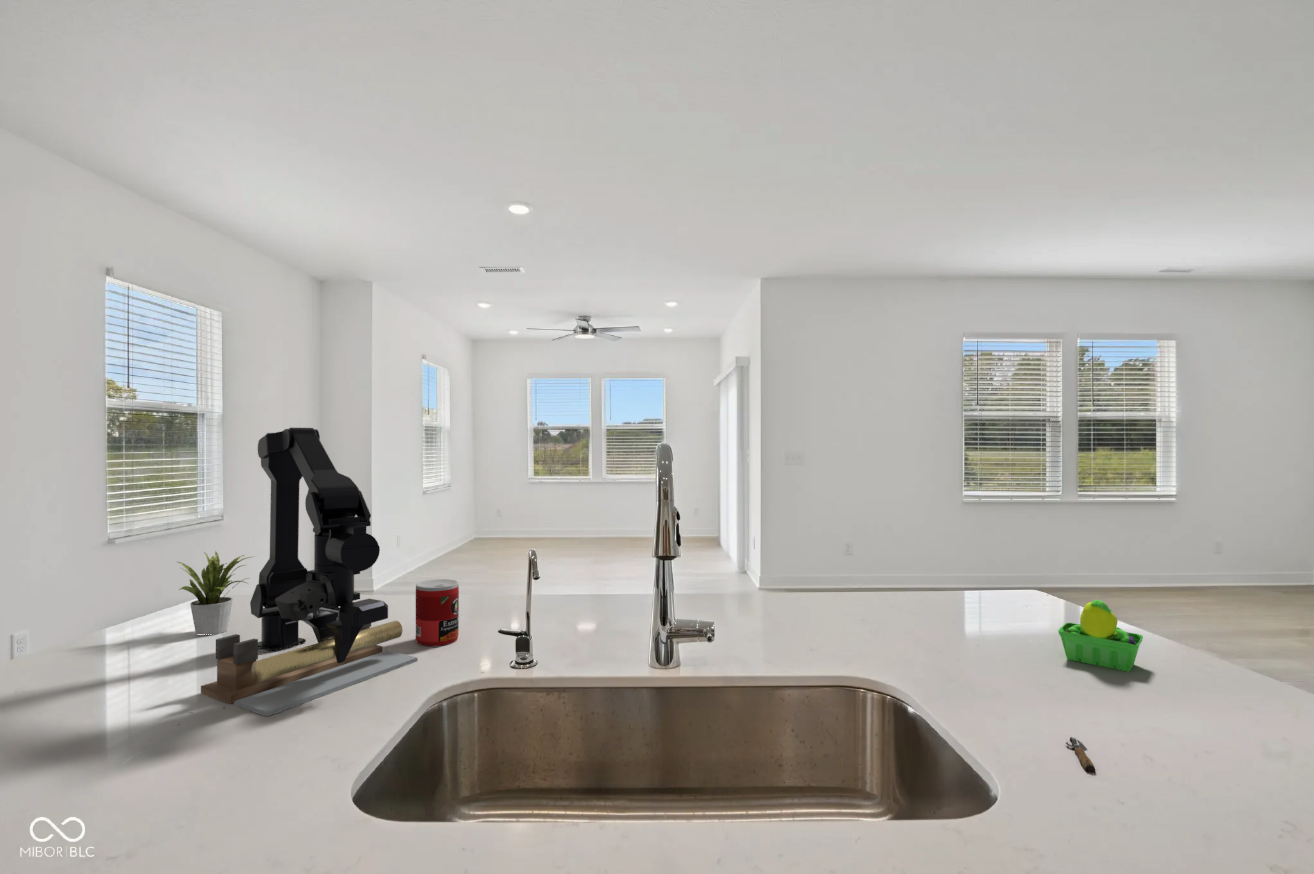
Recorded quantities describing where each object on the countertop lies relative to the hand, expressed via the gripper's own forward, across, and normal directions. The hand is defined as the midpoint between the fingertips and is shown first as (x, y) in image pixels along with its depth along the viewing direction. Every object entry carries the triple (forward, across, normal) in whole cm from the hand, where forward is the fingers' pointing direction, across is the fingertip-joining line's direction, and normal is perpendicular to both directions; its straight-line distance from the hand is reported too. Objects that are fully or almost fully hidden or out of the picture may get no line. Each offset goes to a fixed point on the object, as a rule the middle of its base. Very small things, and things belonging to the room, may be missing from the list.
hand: (334, 660), depth 104 cm
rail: (0, 0, 0) cm, 0 cm away
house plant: (+4, -45, +6) cm, 45 cm away
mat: (+3, 0, 0) cm, 3 cm away
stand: (+3, -9, 0) cm, 9 cm away
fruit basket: (+3, +108, +68) cm, 128 cm away
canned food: (+3, -2, +23) cm, 23 cm away
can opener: (+4, +102, +27) cm, 106 cm away
